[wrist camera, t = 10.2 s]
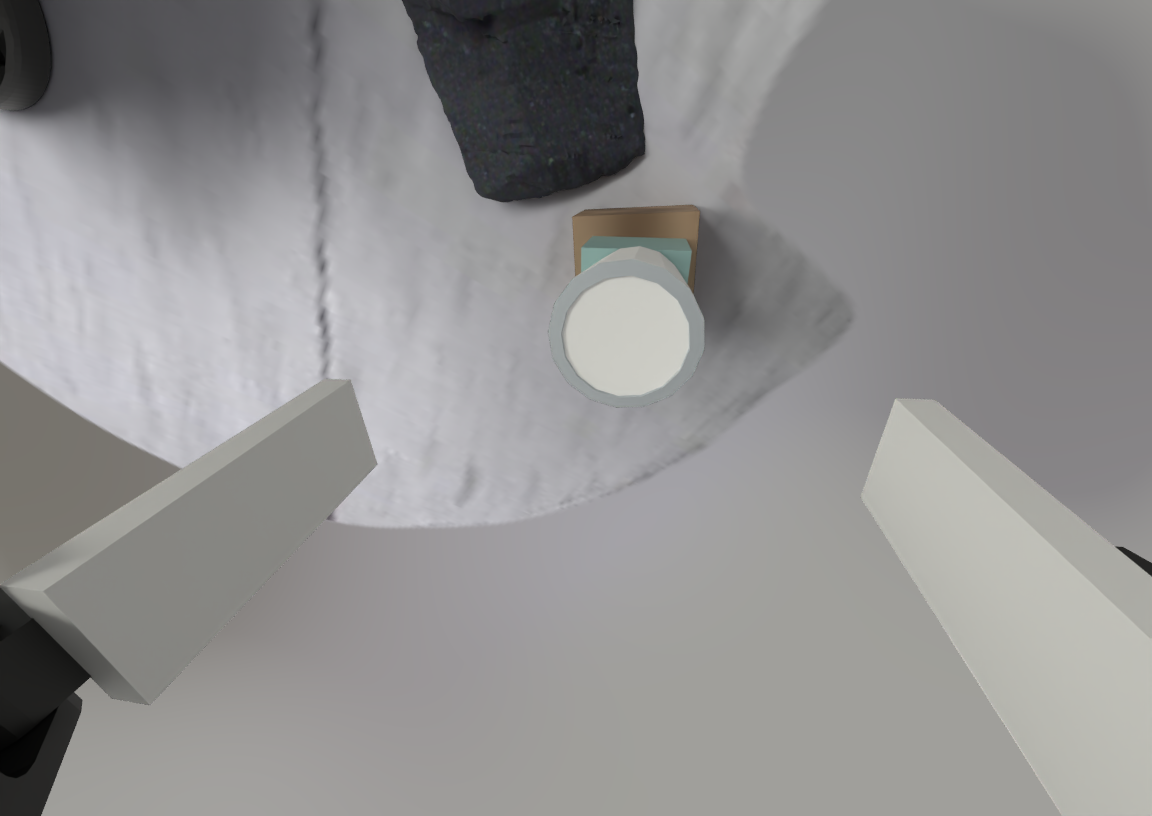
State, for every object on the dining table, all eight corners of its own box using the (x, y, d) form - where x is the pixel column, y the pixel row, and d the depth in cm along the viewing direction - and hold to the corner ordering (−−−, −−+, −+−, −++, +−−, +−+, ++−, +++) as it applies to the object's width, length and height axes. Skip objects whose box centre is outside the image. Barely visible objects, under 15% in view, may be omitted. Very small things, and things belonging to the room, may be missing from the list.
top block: (590, 324, 31) (580, 349, 27) (592, 235, 28) (581, 247, 24) (674, 329, 30) (678, 355, 26) (686, 238, 27) (691, 251, 23)
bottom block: (589, 311, 37) (578, 335, 32) (585, 209, 33) (572, 216, 28) (685, 311, 35) (690, 335, 30) (692, 204, 32) (699, 211, 26)
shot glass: (720, 306, 24) (738, 354, 18) (624, 373, 27) (613, 433, 21) (645, 204, 22) (637, 220, 16) (551, 289, 25) (516, 329, 19)
